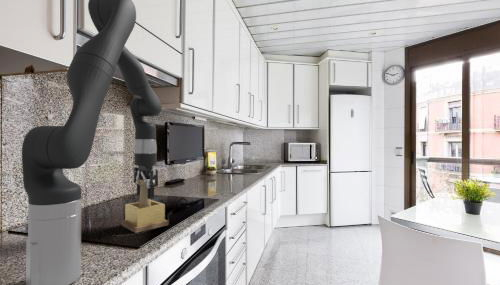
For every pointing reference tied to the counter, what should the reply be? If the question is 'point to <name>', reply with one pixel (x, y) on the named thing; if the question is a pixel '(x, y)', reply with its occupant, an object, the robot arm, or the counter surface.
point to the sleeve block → (144, 216)
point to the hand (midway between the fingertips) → (145, 197)
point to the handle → (143, 194)
